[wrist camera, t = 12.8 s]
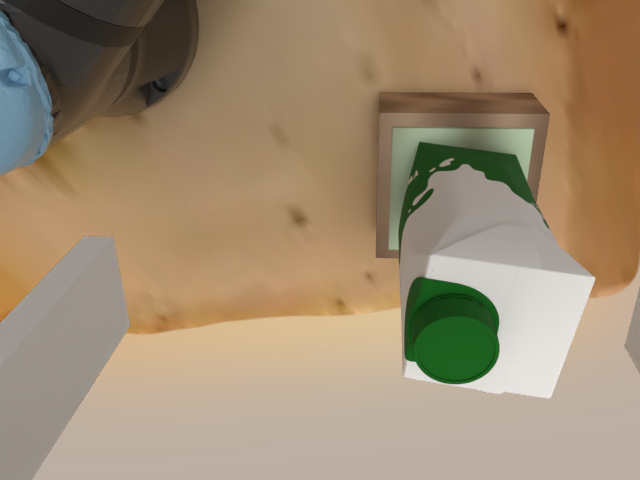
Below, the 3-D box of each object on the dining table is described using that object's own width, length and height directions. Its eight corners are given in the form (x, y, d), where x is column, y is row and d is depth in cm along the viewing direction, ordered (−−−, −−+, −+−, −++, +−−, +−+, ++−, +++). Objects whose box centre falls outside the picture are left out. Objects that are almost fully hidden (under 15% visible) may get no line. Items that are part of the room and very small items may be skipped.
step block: (376, 225, 55) (375, 259, 49) (380, 92, 50) (379, 114, 44) (513, 228, 54) (528, 264, 48) (532, 93, 48) (551, 115, 43)
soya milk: (408, 127, 44) (423, 263, 27) (534, 144, 44) (633, 293, 26) (389, 234, 48) (390, 413, 31) (503, 250, 48) (571, 441, 30)
